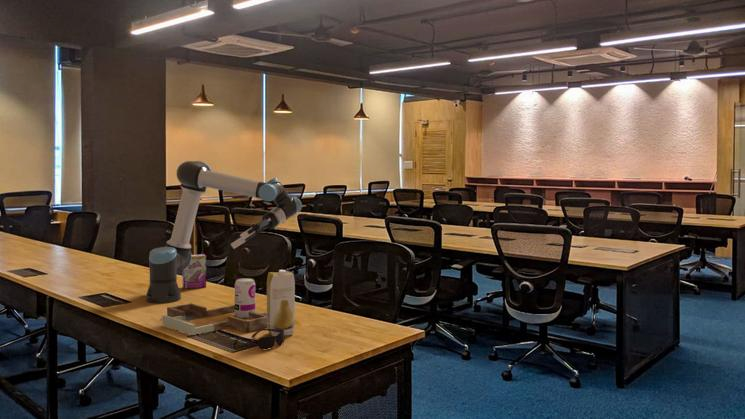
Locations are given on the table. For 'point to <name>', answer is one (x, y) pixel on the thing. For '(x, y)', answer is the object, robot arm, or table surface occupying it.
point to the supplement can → (244, 297)
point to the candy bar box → (195, 273)
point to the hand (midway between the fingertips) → (236, 242)
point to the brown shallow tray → (197, 311)
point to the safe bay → (185, 325)
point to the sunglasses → (266, 339)
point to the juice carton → (281, 302)
